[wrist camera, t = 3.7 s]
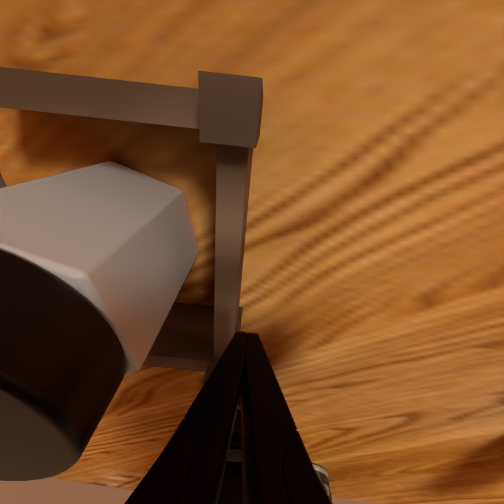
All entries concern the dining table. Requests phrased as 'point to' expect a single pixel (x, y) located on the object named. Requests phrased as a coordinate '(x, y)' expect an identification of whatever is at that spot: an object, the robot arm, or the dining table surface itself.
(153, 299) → the jar
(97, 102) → the brown u-shaped frame
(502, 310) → the dining table surface
